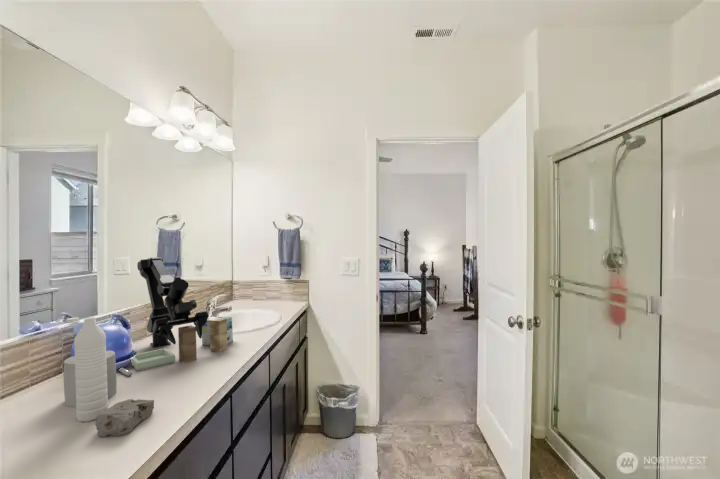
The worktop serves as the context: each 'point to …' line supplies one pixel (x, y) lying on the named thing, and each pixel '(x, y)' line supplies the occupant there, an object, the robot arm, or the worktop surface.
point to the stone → (123, 417)
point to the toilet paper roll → (70, 378)
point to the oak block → (218, 334)
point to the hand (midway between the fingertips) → (188, 340)
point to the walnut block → (187, 343)
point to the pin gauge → (125, 372)
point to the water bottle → (90, 370)
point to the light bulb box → (207, 330)
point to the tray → (152, 359)
